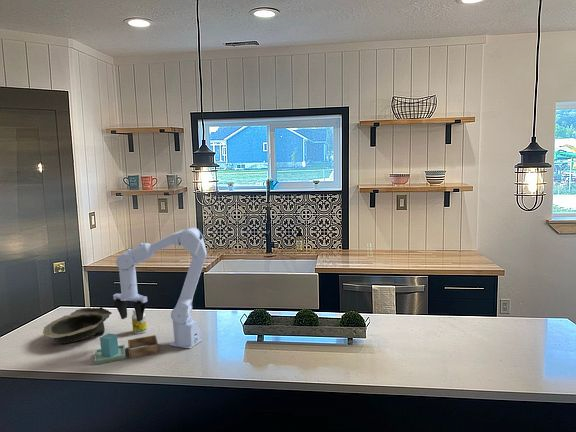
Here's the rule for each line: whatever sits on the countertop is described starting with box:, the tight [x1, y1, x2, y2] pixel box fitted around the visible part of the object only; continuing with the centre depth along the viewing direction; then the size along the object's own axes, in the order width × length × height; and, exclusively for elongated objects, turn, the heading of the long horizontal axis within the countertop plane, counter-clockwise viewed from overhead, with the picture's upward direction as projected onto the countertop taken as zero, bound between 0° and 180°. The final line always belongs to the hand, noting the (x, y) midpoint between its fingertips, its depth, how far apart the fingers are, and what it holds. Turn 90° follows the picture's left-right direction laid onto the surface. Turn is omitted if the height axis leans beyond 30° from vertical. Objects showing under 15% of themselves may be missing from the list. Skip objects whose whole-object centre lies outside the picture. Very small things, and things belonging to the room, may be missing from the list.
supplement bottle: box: [131, 308, 148, 335], centre depth 182 cm, size 5×5×10 cm
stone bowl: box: [42, 306, 113, 345], centre depth 179 cm, size 25×25×9 cm
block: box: [99, 333, 119, 357], centre depth 160 cm, size 4×4×7 cm
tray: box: [94, 344, 127, 366], centre depth 160 cm, size 10×10×2 cm
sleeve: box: [127, 334, 160, 359], centre depth 164 cm, size 10×10×3 cm
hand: (132, 319), depth 167 cm, fingers open, 7 cm apart
